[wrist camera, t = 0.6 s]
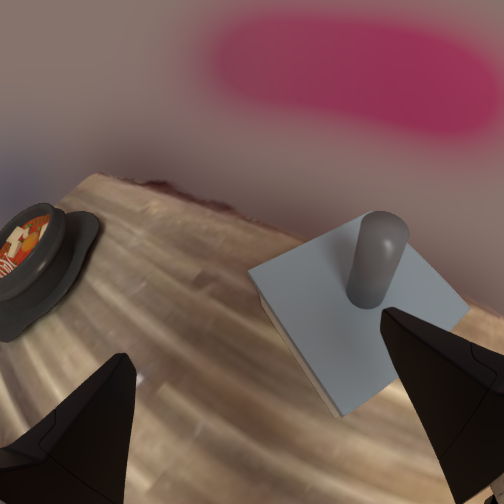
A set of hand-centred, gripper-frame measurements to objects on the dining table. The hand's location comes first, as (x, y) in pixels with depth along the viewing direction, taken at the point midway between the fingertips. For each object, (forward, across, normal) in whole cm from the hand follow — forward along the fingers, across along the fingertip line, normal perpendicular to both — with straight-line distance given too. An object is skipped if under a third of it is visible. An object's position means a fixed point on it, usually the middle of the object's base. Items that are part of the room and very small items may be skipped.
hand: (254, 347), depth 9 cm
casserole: (+26, +31, +6) cm, 40 cm away
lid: (+11, -9, +7) cm, 16 cm away
